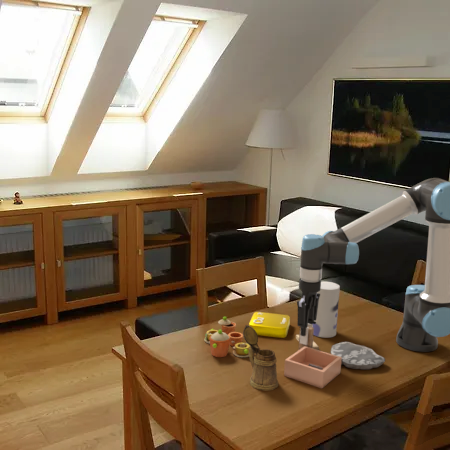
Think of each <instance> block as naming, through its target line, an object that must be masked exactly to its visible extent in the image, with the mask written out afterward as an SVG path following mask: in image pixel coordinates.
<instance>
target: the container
mask: <svg viewBox="0 0 450 450" xmlns="http://www.w3.org/2000/svg"><path fill="white" fill-rule="evenodd" d="M340 287H341V286H340V285H339V284H338V283H335V282H332V281H321V289H320V291H319V292H317V293H319V294H320V297H319V302H318V310H317V318H316V321H315V320H314V321H315V322H316V324H313V328H314V334H313V336H315V337H318V338H327V339H329V338H334V337H335V336H336V335H337V327H338V316H339V315H338V314H339V313H338V312H339V300H340V289H341V288H340Z"/></svg>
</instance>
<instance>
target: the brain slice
mask: <svg viewBox="0 0 450 450" xmlns="http://www.w3.org/2000/svg"><path fill="white" fill-rule="evenodd" d="M330 354H333V355H336V356H340V357H342V360H341V365H344V367H346V368H349V369H353V370H372V369H373V368H379V367H380V366H382V365H383V364H384V363H385V362H386V358H385V357H383V356H382V355H379V354H377V353H376V352H375V351H374V350H373V349H372V348H370V347H367V346H365V345H360V344H355V343H353V342H350V341H341V342H339V343H335V344H333V345H331V348H330Z"/></svg>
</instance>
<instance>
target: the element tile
mask: <svg viewBox="0 0 450 450" xmlns="http://www.w3.org/2000/svg"><path fill="white" fill-rule="evenodd" d="M290 321H291V317H290V316H289V314H280V313H271V312H263V311H262V312H261V311H254V312H253V314H252V316H251V318H250V320H249V322H248V326H251V327H252V328H253V329H254V330H255V331H256V333H257V335H258V336H262V337H271V338H279V339H280V338H281V339H282V338H283V339H285V338H287V335H288V332H289V329H290V325H291V324H290V323H291V322H290Z"/></svg>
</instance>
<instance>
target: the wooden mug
mask: <svg viewBox="0 0 450 450" xmlns="http://www.w3.org/2000/svg"><path fill="white" fill-rule="evenodd" d="M242 334H243V340H244V341H245V343H248V344H249V345H250V349H249V357H248V358H249V362H250V364H251V367H252V373H251V376H250V379H249V385H250V386H251V387H252V388H255V389H257V390H258V391H259V390H260V391H273V390H275V389H277V388H278V387H279V381H278V372H277V357H276V352H275V351H273V350H271V349H261V348H260V347H259V345H258V342H259V335H257V333H256V331H255V330H254V329H253V328H252V327H251V326H249V324H245V326H244V328H243V332H242Z"/></svg>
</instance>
